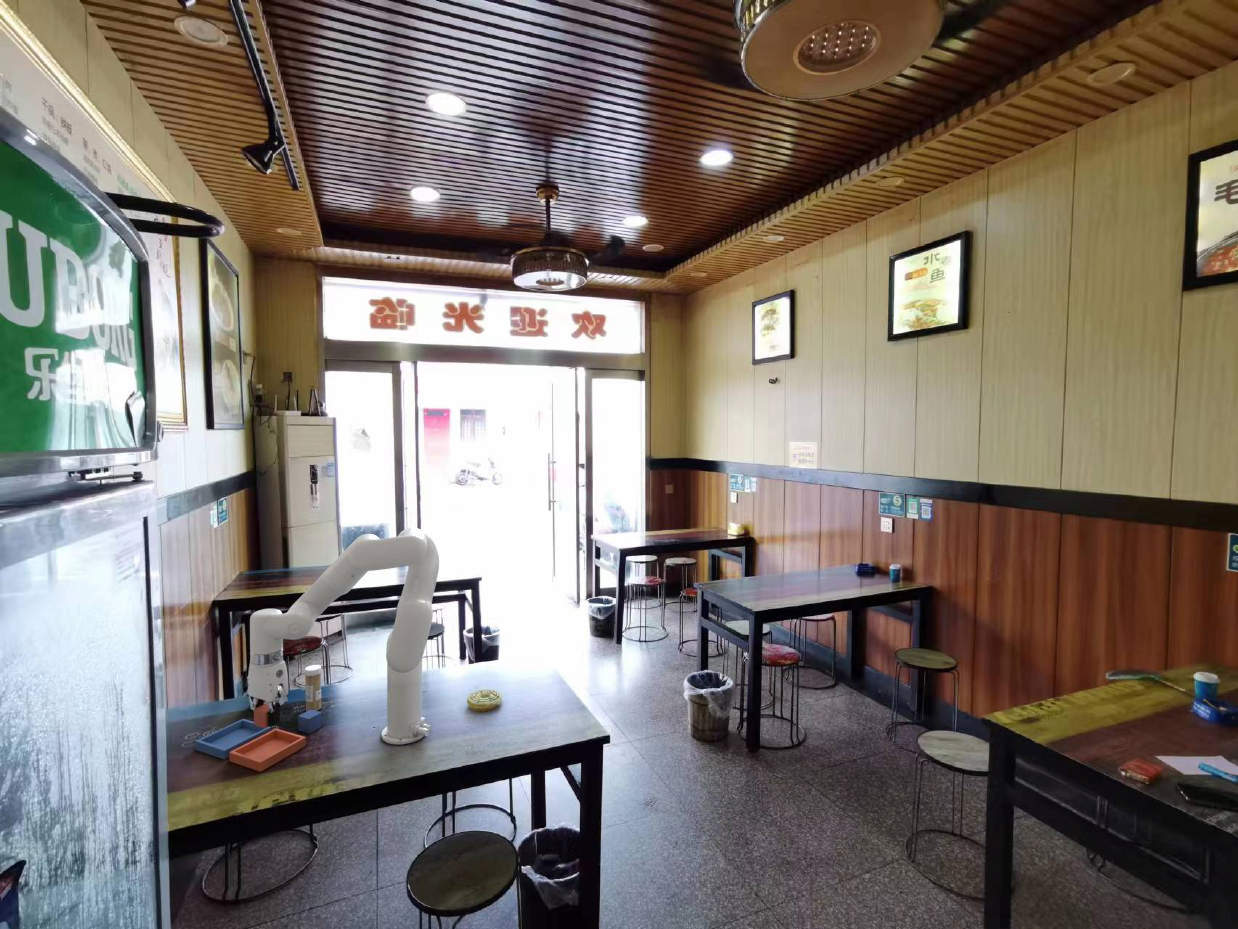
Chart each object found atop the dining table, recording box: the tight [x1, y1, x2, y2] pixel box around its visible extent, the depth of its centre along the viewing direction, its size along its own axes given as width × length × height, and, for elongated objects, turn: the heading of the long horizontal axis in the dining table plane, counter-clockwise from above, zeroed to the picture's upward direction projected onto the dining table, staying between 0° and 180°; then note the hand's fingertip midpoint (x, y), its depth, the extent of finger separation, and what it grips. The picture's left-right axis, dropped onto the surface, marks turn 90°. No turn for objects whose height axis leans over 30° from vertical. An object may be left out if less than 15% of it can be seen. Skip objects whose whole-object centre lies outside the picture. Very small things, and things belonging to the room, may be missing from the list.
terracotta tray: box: [228, 728, 307, 773], centre depth 161 cm, size 12×14×2 cm
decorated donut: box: [466, 689, 503, 712], centre depth 191 cm, size 10×11×4 cm
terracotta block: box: [253, 703, 276, 728], centre depth 160 cm, size 4×4×4 cm
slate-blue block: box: [297, 710, 323, 734], centre depth 174 cm, size 4×4×4 cm
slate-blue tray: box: [194, 718, 272, 760], centre depth 166 cm, size 12×14×2 cm
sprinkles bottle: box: [304, 664, 323, 712], centre depth 186 cm, size 5×5×13 cm
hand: (267, 721), depth 160 cm, fingers closed on terracotta block, 4 cm apart
